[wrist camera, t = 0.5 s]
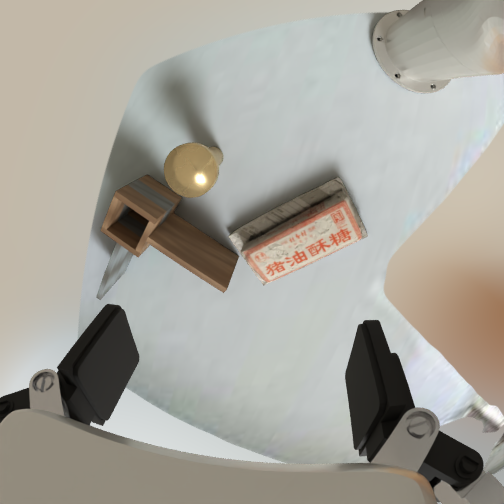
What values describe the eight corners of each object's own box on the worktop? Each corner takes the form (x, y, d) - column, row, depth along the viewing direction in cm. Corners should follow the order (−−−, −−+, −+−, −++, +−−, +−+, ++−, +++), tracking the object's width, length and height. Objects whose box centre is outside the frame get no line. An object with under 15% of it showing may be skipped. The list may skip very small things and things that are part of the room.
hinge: (147, 174, 41) (115, 191, 33) (249, 242, 44) (239, 273, 36) (109, 260, 49) (82, 286, 41) (193, 316, 52) (177, 350, 44)
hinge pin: (206, 127, 37) (180, 133, 28) (242, 151, 38) (227, 163, 29) (184, 163, 40) (155, 179, 31) (219, 185, 41) (198, 207, 32)
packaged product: (343, 182, 34) (374, 247, 37) (337, 173, 38) (366, 232, 41) (222, 246, 40) (260, 299, 43) (229, 232, 44) (263, 282, 48)
